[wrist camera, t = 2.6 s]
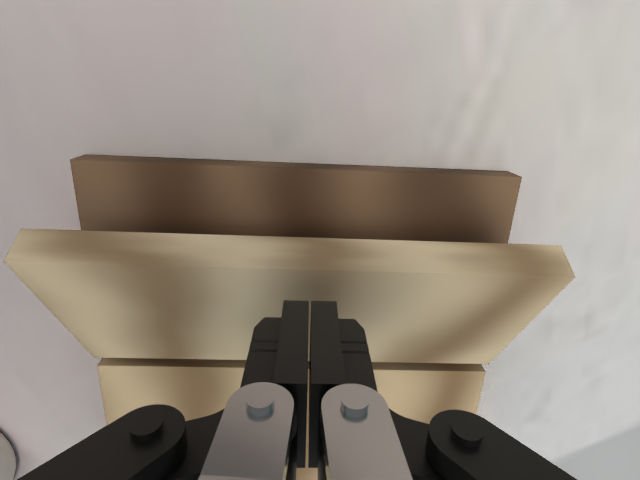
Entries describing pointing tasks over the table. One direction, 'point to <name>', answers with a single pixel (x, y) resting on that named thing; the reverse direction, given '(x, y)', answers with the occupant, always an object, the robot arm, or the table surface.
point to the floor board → (289, 221)
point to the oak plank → (285, 291)
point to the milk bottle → (6, 459)
